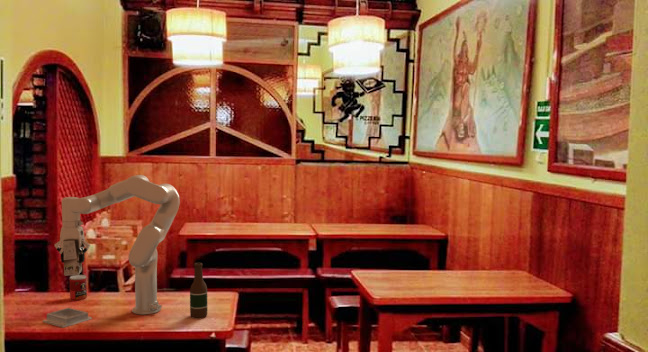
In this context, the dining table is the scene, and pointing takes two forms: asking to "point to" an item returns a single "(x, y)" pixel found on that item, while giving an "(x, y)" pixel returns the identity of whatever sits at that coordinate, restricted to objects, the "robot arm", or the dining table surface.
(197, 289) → the beer bottle
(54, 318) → the plate
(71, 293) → the canned food
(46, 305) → the dining table surface
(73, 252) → the coffee box
